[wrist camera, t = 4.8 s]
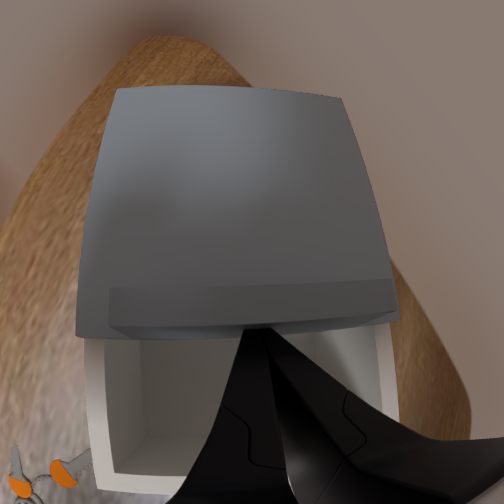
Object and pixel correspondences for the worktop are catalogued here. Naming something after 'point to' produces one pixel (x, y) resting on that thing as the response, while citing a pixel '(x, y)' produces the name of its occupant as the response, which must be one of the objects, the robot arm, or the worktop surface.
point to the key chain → (58, 470)
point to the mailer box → (199, 397)
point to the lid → (230, 219)
